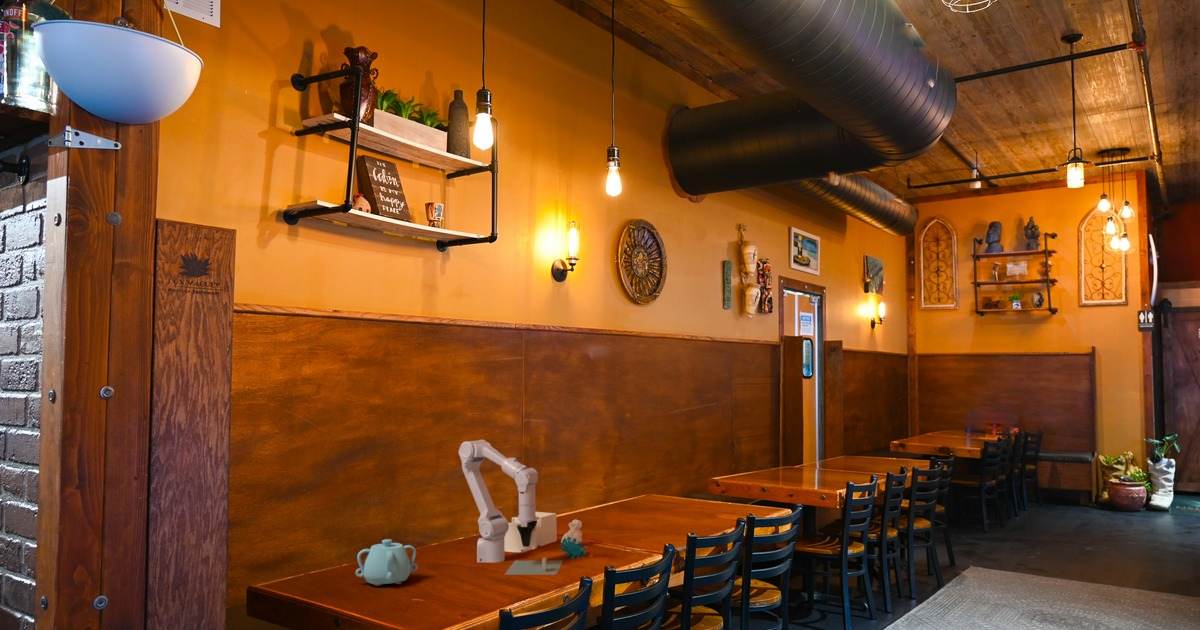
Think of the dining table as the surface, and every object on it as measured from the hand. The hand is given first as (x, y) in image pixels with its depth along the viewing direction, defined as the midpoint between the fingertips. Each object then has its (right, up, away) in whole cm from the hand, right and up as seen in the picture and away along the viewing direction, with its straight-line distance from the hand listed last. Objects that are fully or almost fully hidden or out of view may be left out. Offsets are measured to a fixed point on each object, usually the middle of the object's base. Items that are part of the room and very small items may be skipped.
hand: (527, 544), depth 286 cm
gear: (+16, -9, +12) cm, 22 cm away
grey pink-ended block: (+7, -6, -10) cm, 13 cm away
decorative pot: (-44, -8, -17) cm, 48 cm away
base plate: (+3, -8, -5) cm, 9 cm away
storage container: (-3, -11, +38) cm, 39 cm away
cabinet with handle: (0, -1, 0) cm, 1 cm away
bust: (+15, -10, +34) cm, 39 cm away
